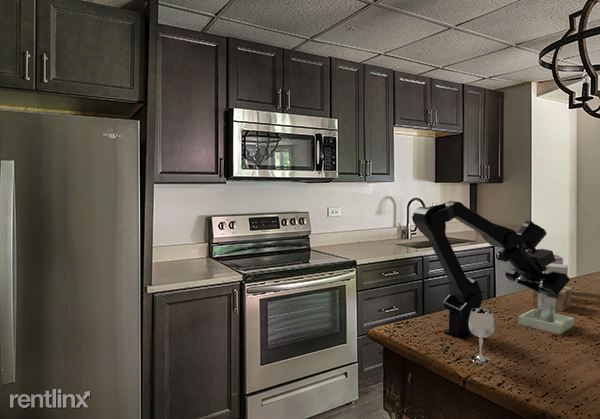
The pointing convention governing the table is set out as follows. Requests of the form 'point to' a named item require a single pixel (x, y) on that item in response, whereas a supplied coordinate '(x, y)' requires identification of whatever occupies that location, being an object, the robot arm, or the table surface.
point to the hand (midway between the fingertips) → (550, 295)
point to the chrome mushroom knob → (545, 306)
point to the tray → (555, 327)
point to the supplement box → (557, 268)
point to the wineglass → (481, 329)
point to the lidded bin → (558, 299)
